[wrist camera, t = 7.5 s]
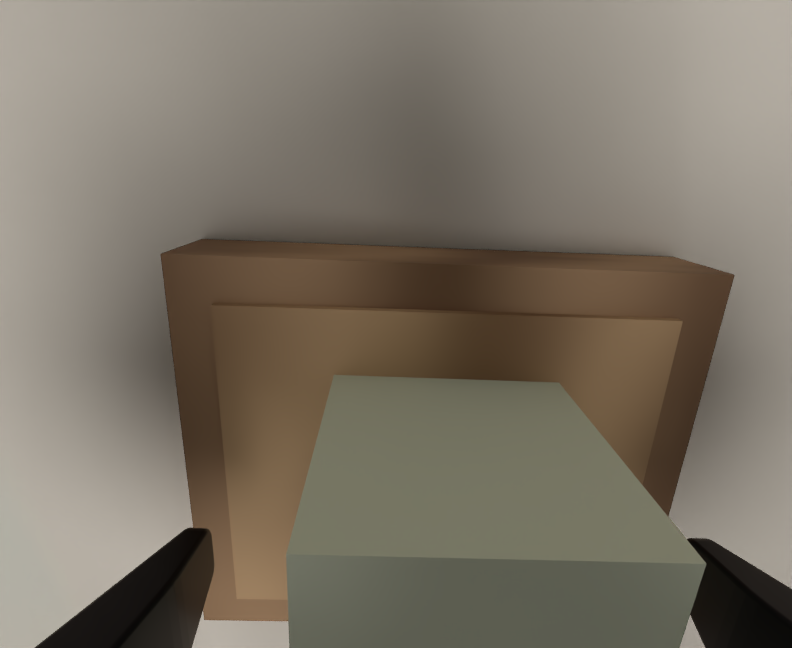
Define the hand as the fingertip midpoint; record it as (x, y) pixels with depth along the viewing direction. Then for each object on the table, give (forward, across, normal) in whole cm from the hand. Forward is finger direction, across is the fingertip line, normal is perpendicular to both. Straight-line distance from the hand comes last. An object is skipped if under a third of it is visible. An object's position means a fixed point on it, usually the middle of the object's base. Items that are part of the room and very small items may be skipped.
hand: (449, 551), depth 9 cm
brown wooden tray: (+5, 0, 0) cm, 5 cm away
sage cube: (+2, 0, 0) cm, 2 cm away
